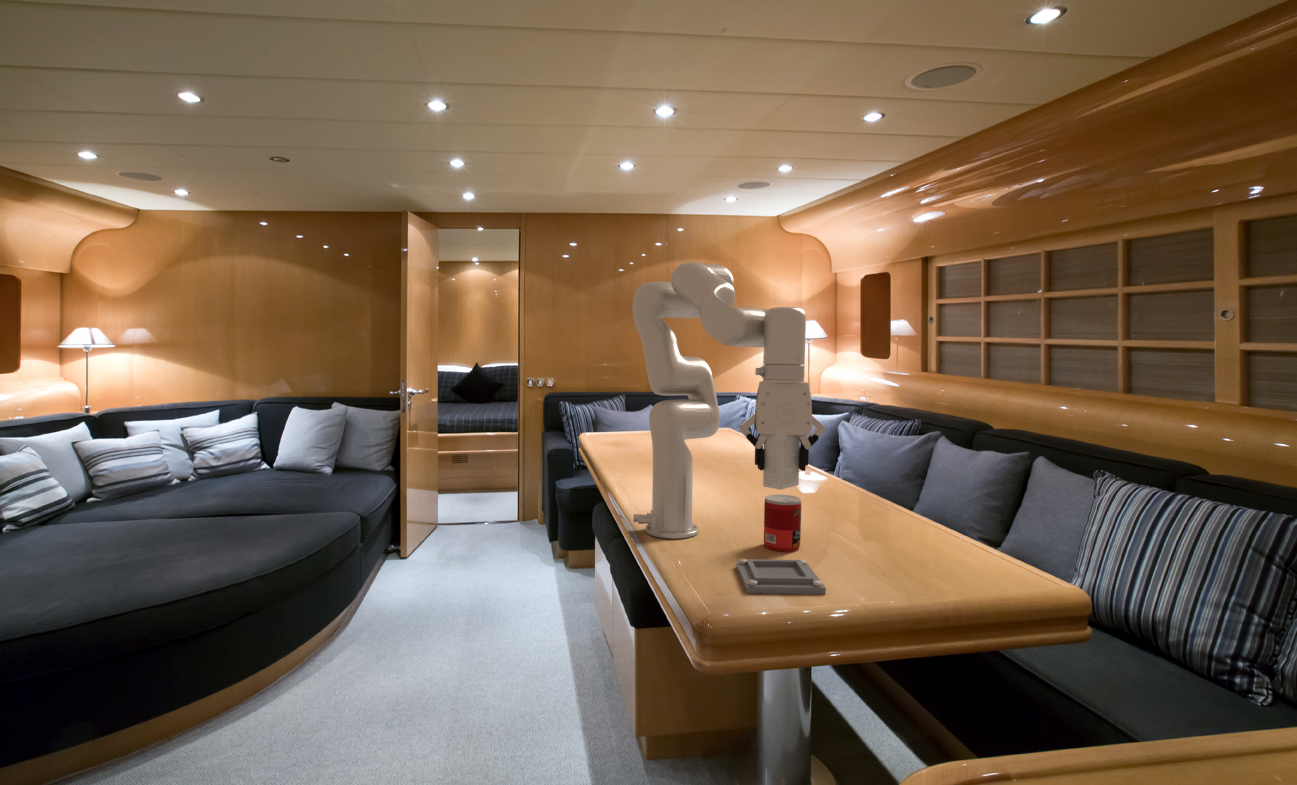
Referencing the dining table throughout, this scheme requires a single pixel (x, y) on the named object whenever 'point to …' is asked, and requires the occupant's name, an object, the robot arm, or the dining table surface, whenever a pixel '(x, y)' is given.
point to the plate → (779, 577)
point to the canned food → (782, 523)
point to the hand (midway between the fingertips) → (781, 468)
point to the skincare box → (781, 460)
